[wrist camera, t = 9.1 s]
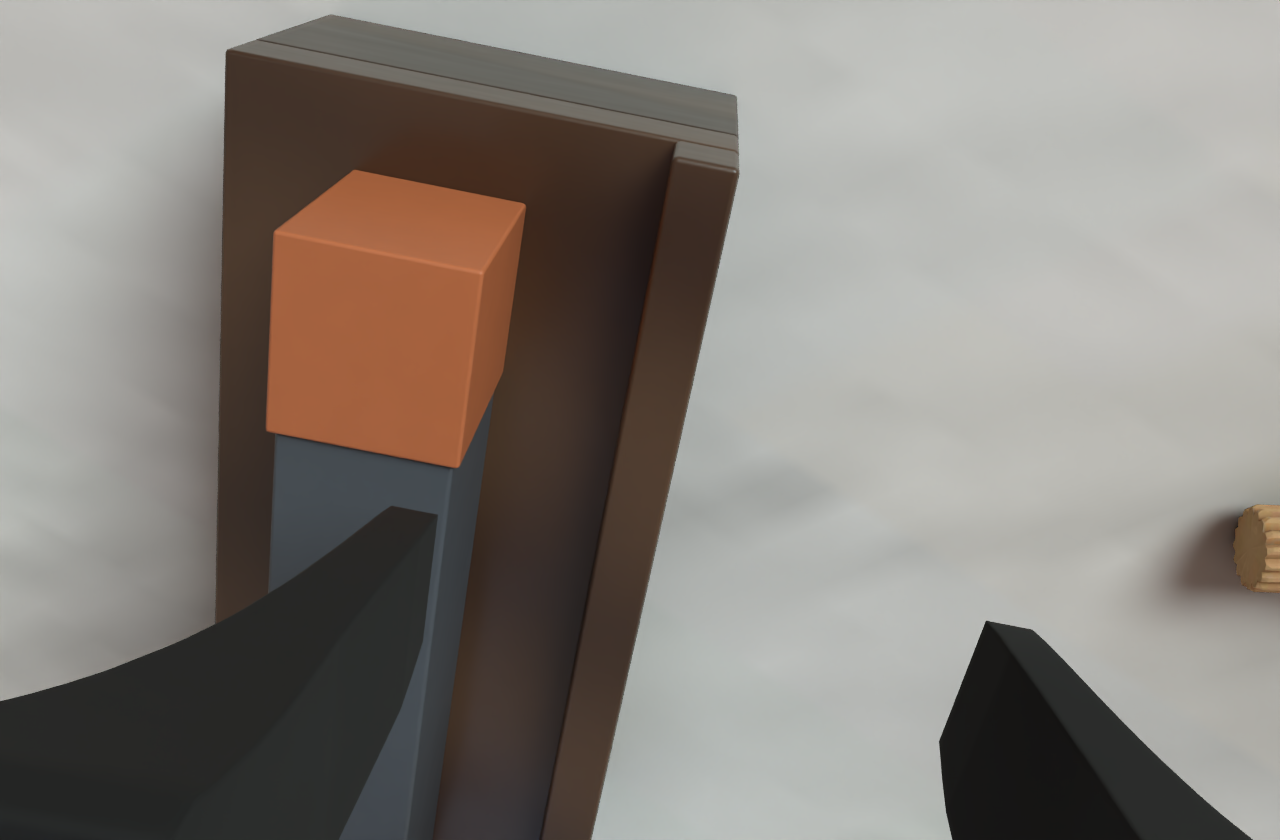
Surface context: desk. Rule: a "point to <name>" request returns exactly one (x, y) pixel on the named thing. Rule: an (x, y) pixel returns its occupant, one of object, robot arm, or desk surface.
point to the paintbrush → (1258, 548)
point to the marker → (390, 418)
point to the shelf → (533, 368)
